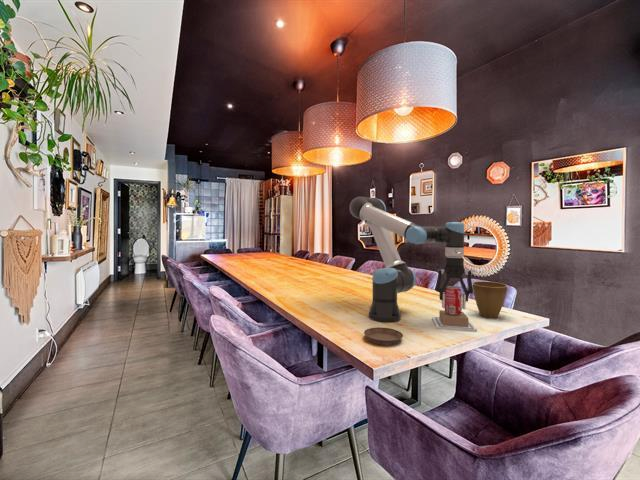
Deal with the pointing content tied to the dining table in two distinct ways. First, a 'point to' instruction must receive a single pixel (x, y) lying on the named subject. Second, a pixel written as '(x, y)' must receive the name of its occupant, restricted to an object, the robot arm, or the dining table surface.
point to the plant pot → (489, 297)
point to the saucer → (383, 335)
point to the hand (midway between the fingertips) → (453, 307)
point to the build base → (453, 322)
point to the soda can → (453, 300)
